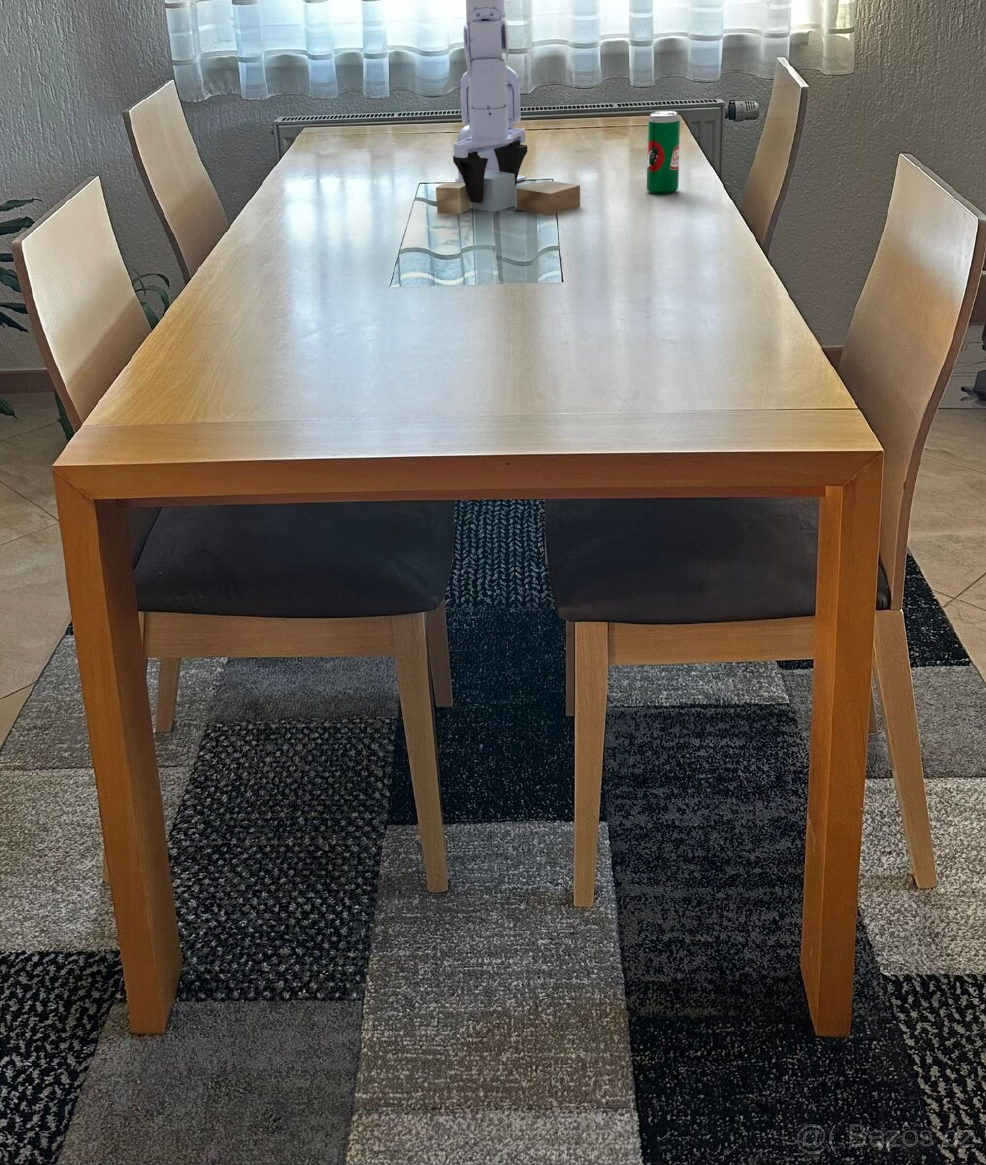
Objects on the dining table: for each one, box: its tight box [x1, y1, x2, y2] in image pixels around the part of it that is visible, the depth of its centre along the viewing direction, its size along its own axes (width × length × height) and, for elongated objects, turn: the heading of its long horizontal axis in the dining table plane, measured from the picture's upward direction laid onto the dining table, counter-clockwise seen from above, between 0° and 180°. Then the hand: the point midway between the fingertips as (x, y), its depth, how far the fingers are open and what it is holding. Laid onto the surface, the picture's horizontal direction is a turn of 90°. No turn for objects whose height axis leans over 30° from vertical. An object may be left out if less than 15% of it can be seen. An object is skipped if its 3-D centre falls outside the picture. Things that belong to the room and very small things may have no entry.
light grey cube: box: [470, 170, 516, 213], centre depth 201 cm, size 5×5×5 cm
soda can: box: [646, 110, 681, 196], centre depth 204 cm, size 5×5×12 cm
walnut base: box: [515, 179, 581, 216], centre depth 200 cm, size 7×7×4 cm
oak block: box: [435, 181, 472, 215], centre depth 201 cm, size 4×4×4 cm
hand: (492, 197), depth 202 cm, fingers open, 7 cm apart
